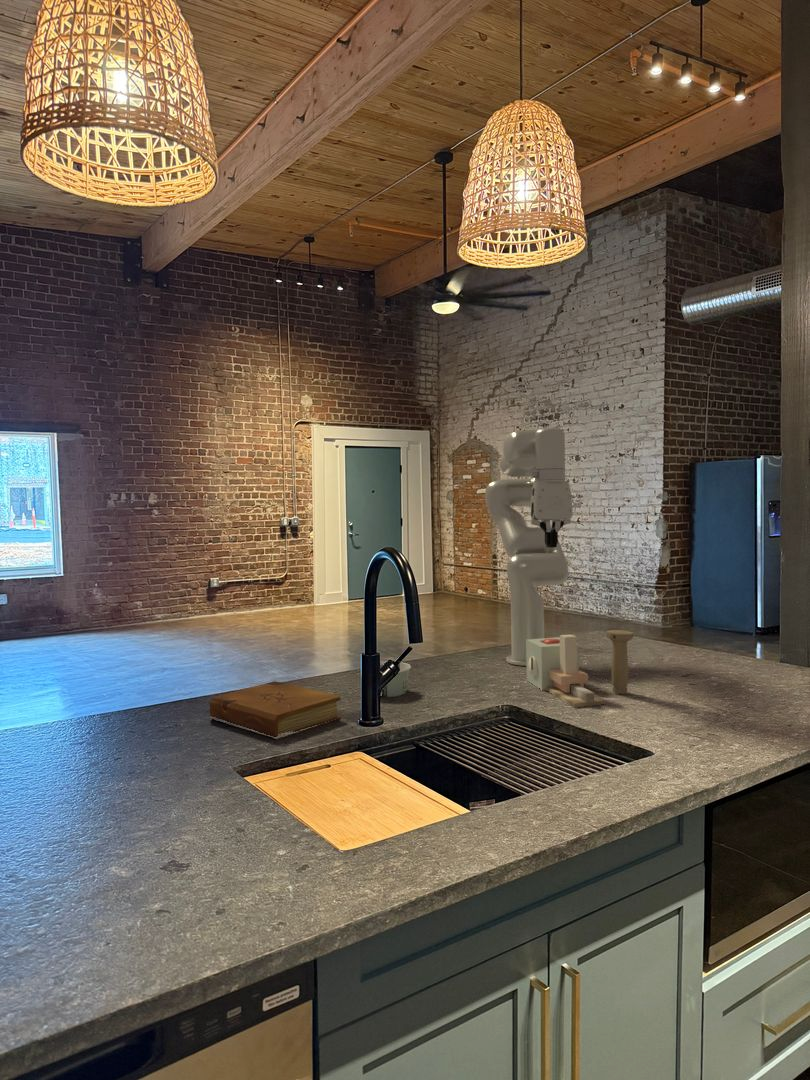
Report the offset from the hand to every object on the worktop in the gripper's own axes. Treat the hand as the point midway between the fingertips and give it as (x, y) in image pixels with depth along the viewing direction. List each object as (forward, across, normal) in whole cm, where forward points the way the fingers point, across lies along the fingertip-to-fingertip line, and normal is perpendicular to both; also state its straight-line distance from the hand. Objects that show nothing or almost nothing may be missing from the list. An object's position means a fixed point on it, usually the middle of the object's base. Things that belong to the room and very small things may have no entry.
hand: (551, 547), depth 195 cm
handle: (+35, +10, -17) cm, 40 cm away
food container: (+35, -44, +2) cm, 57 cm away
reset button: (+27, -2, -4) cm, 27 cm away
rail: (+35, -2, -17) cm, 39 cm away
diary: (+36, -73, -13) cm, 82 cm away
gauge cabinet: (+35, -2, -4) cm, 35 cm away
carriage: (+34, -2, -14) cm, 36 cm away
